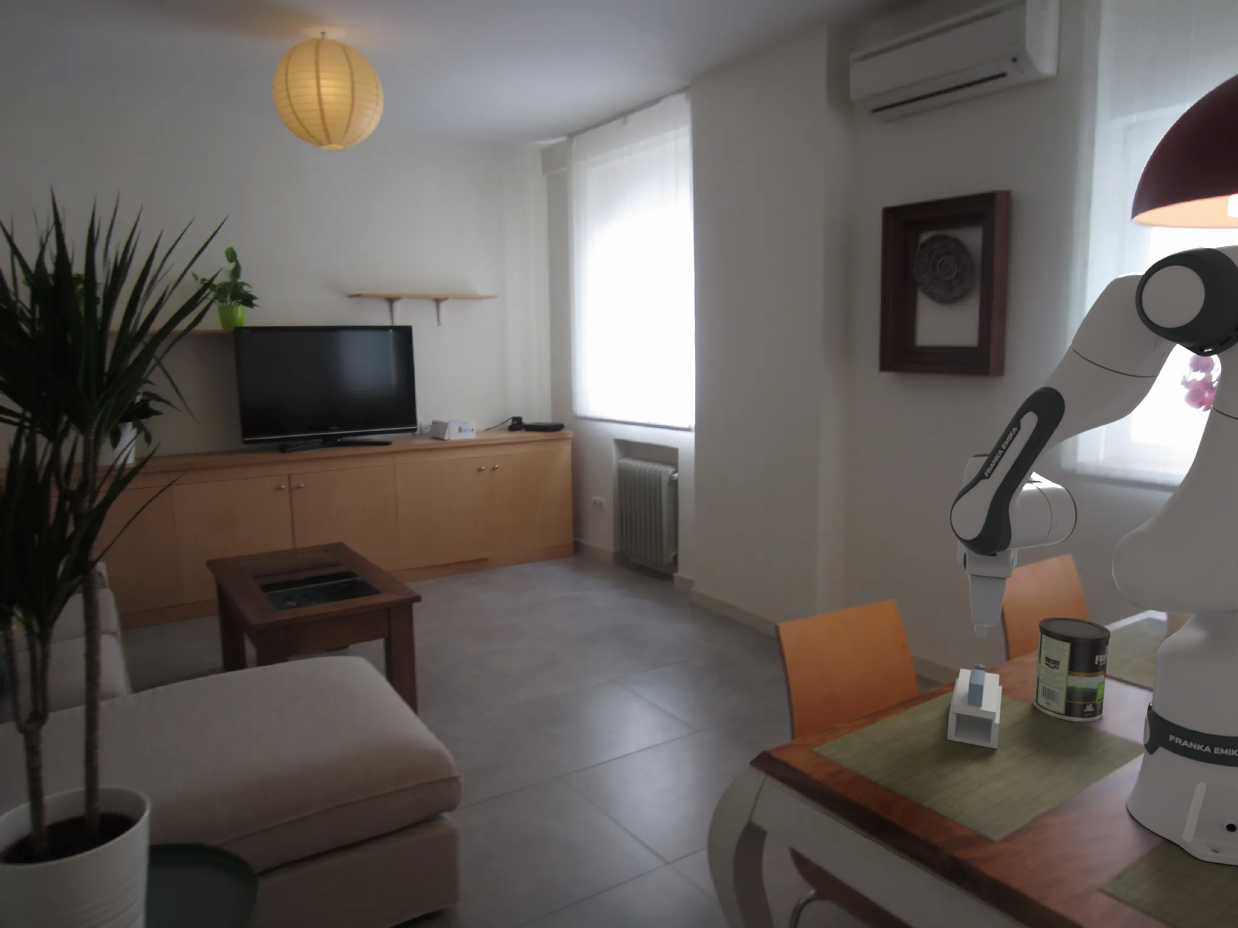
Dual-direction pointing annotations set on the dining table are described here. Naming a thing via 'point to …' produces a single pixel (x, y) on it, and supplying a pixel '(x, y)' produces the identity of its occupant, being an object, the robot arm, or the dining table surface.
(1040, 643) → the coffee can
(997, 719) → the duct
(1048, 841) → the dining table surface
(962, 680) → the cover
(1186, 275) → the robot arm
